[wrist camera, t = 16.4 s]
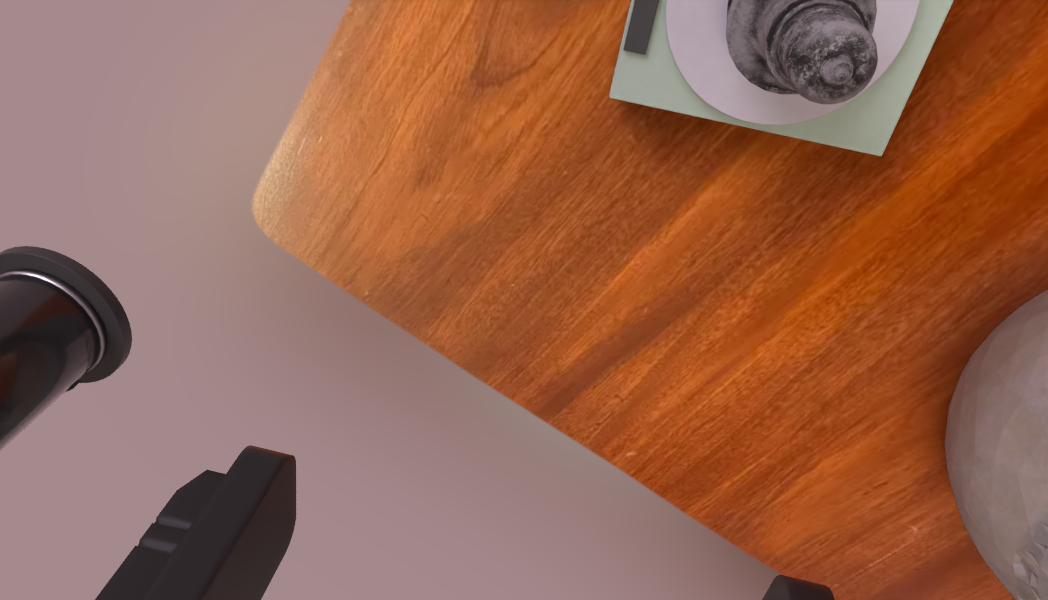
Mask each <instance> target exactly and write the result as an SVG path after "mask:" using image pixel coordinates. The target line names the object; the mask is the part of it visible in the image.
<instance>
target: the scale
mask: <svg viewBox="0 0 1048 600" xmlns="http://www.w3.org/2000/svg"><path fill="white" fill-rule="evenodd" d="M953 1H954V0H876V7H877V13H876V19H875V25H874V30H873V33H872V36H873V39H874V41H875V43H876V46H877V55H878V61H877V66H876V71H875V73H874V75H873V77H872V79H871V81H870V82H869V83H868V85H867V86H866V87H865V88H864V89H863V90H862V91H861V92H860V93H859V94H857V95H856V96H855V97H853V98H851V99H849V100H847V101H845V102H841V103H837V104H819V103H815V102H811V101H809V100H807V99H805V98H804V97H802V96H800V95H799V94H778V93H773V92H769V91H765V90H763V89H761V88H759V87H758V86H756V85H754V84H752V83H751V82H749V81H748V80H747V79H746V78H745V77H744V76H743V75H742V74H741V73H740V71H739V70H738V69H737V67H736V66H735V64H734V62H733V60H732V58H731V56H730V54H729V49H728V44H727V39H726V26H727V6H728V0H631V2H630V7H629V11H628V15H627V20H626V24H625V28H624V32H623V37H622V41H621V45H620V49H619V54H618V58H617V62H616V66H615V71H614V75H613V79H612V84H611V89H610V94H609V98H612V99H617V100H622V101H626V102H631V103H636V104H640V105H645V106H650V107H654V108H659V109H663V110H668V111H673V112H677V113H682V114H687V115H691V116H696V117H700V118H705V119H710V120H714V121H719V122H724V123H728V124H733V125H738V126H742V127H747V128H751V129H756V130H761V131H765V132H770V133H775V134H779V135H784V136H788V137H793V138H798V139H802V140H807V141H812V142H816V143H821V144H826V145H830V146H835V147H839V148H844V149H849V150H853V151H858V152H863V153H867V154H872V155H876V156H882V154H883V152H884V150H885V148H886V146H887V144H888V141H889V139H890V137H891V135H892V133H893V131H894V128H895V126H896V124H897V122H898V120H899V118H900V115H901V113H902V111H903V109H904V107H905V105H906V102H907V100H908V98H909V96H910V94H911V92H912V89H913V87H914V85H915V83H916V81H917V79H918V76H919V74H920V72H921V70H922V68H923V66H924V63H925V61H926V59H927V57H928V55H929V53H930V50H931V48H932V46H933V44H934V42H935V40H936V37H937V35H938V33H939V31H940V29H941V27H942V24H943V22H944V20H945V18H946V16H947V14H948V11H949V9H950V7H951V5H952V3H953Z"/></svg>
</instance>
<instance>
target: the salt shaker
mask: <svg viewBox="0 0 1048 600" xmlns="http://www.w3.org/2000/svg"><path fill="white" fill-rule="evenodd" d="M876 13H877V7H876V0H728V6H727V26H726V39H727V44H728V49H729V54H730V56H731V58H732V60H733V62H734V64H735V66H736V67H737V69H738V70H739V71H740V73H741V74H742V75H743V76H744V77H745V78H746V79H747V80H748V81H749V82H751V83H752V84H754V85H756V86H758V87H759V88H761V89H763V90H765V91H769V92H773V93H778V94H799V95H800V96H802V97H804V98H805V99H807V100H809V101H811V102H815V103H819V104H837V103H841V102H845V101H847V100H849V99H851V98H853V97H855V96H856V95H857V94H859V93H860V92H861V91H862V90H863V89H864V88H865V87H866V86H867V85H868V83H869V82H870V81H871V79H872V77H873V75H874V73H875V71H876V66H877V61H878V55H877V46H876V43H875V41H874V39H873V36H872V33H873V30H874V25H875V19H876Z"/></svg>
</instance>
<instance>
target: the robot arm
mask: <svg viewBox="0 0 1048 600" xmlns="http://www.w3.org/2000/svg"><path fill="white" fill-rule="evenodd" d="M107 345H108V340H107V334H106V330H105V327H104V324H103V322H102V320H101V318H100V316H99V315H98V313H97V311H96V310H95V309H94V307H93V306H92V305H91V304H90V302H89V301H88V300H87V299H86V298H85V297H84V296H83V295H82V294H81V293H80V292H78V291H77V290H76V289H75V288H73V287H72V286H71V285H69V284H68V283H66V282H64V281H63V280H61V279H59V278H57V277H55V276H53V275H51V274H48V273H45V272H42V271H39V270H34V269H26V268H19V269H12V270H9V271H6V272H4V273H2V274H1V275H0V451H1V450H2V449H3V448H4V447H6V446H7V445H8V444H9V443H10V442H11V441H12V440H13V439H14V438H15V437H17V436H18V435H19V434H20V433H21V432H22V431H23V430H24V429H25V428H26V427H27V426H28V425H29V424H31V423H32V422H33V421H34V420H35V419H36V418H37V417H38V416H39V415H40V414H41V413H43V412H44V411H45V410H46V409H47V408H48V407H49V406H50V405H52V403H54V402H55V401H56V400H57V399H58V398H59V397H60V396H61V395H62V394H63V393H65V392H67V391H69V390H71V389H73V388H74V387H75V386H76V385H77V384H78V383H79V382H80V381H81V380H82V379H81V380H79V379H80V378H81V377H82V376H83V375H84V374H85V373H86V372H88V371H90V370H92V369H93V368H94V367H95V366H96V365H97V364H98V363H100V361H101V360H102V359H103V358H104V356H105V354H106V350H107ZM83 379H84V378H83ZM78 380H79V381H78ZM295 520H296V460H295V457H294V456H293V455H288V454H284V453H280V452H276V451H272V450H268V449H263V448H259V447H255V446H247V447H246V448H245V449H244V450H243V451H242V452H241V453H240V455H239V456H238V458H237V459H236V461H235V462H234V464H233V465H232V466H231V468H230V469H229V471H228V472H227V474H222V473H218V472H214V471H210V470H206V471H205V472H203V473H202V474H200V475H199V476H197V477H196V478H195V479H193V480H191V481H190V482H189V483H187V484H186V485H184V486H183V487H181V488H180V489H179V490H177V491H176V493H175V494H174V495H173V496H172V498H171V499H170V500H169V502H168V503H167V504H166V506H165V507H164V508H163V510H162V511H161V512H160V514H159V515H158V516H157V519H156V522H155V523H154V524H153V523H152V525H151V526H150V527H149V529H148V530H147V531H146V532H145V534H144V535H143V537H142V538H141V539H140V542H139V545H138V546H135V547H134V548H133V550H132V551H131V552H130V554H129V555H128V556H127V558H126V559H125V561H124V562H123V563H122V564H121V566H120V567H119V568H118V570H117V571H116V573H115V574H114V575H113V576H112V578H111V579H110V580H109V582H108V583H107V584H106V586H105V587H104V588H103V590H102V591H101V593H100V594H99V595H98V596H97V598H96V599H95V600H261V598H262V597H263V595H264V593H265V591H266V589H267V587H268V585H269V583H270V581H271V579H272V577H273V576H274V574H275V572H276V570H277V568H278V566H279V564H280V562H281V560H282V559H283V557H284V555H285V553H286V550H287V548H288V546H289V543H290V540H291V538H292V534H293V531H294V526H295ZM763 600H834V596H833V594H832V591H831V590H830V588H829V587H827V586H825V585H821V584H817V583H813V582H809V581H805V580H800V579H796V578H792V577H788V576H784V575H778V576H777V577H776V578H775V579H774V580H773V582H772V584H771V585H770V587H769V589H768V591H767V593H766V594H765V596H764V598H763Z"/></svg>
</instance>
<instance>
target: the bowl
mask: <svg viewBox="0 0 1048 600" xmlns="http://www.w3.org/2000/svg"><path fill="white" fill-rule="evenodd" d="M944 445H945V454H946V462H947V469H948V475H949V481H950V486H951V489H952V492H953V495H954V498H955V501H956V504H957V507H958V510H959V513H960V516H961V519H962V521H963V523H964V526H965V528H966V530H967V532H968V534H969V536H970V538H971V539H972V541H973V543H974V544H975V546H976V548H977V550H978V551H979V553H980V555H981V556H982V558H983V559H984V560H985V562H986V563H987V565H988V566H989V567H990V569H991V570H992V572H993V573H994V574H995V575H996V577H997V578H998V579H999V581H1000V582H1001V583H1002V584H1003V586H1004V587H1005V588H1006V590H1007V591H1008V592H1009V593H1010V594H1011V595H1012V596H1013V597H1014V598H1015V599H1016V600H1048V289H1047V290H1045V291H1044V292H1042V293H1040V294H1039V295H1037V296H1035V297H1034V298H1032V299H1031V300H1029V301H1027V302H1026V303H1024V304H1023V305H1022V306H1020V307H1019V308H1018V309H1017V310H1015V311H1014V312H1013V313H1012V314H1010V315H1009V316H1008V317H1007V318H1006V319H1004V320H1003V321H1002V322H1001V323H1000V324H999V325H998V326H996V327H995V329H994V330H993V331H992V332H991V333H990V334H989V335H988V337H987V338H986V339H985V340H984V341H983V342H982V344H981V345H980V346H979V347H978V348H977V349H976V351H975V352H974V353H973V354H972V355H971V357H970V359H969V360H968V362H967V364H966V366H965V367H964V369H963V371H962V373H961V375H960V378H959V380H958V383H957V386H956V388H955V391H954V394H953V396H952V399H951V402H950V404H949V408H948V417H947V426H946V435H945V444H944Z"/></svg>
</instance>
